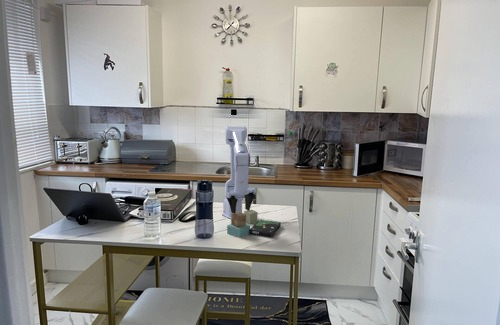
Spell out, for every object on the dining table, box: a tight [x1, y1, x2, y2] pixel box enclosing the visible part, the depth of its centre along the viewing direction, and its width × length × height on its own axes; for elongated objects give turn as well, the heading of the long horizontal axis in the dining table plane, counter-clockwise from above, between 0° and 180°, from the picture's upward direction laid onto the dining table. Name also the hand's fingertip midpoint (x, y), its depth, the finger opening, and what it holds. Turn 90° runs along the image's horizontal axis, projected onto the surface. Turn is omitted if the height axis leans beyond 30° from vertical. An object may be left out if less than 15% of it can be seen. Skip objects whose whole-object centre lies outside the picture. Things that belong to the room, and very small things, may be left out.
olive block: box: [243, 209, 259, 225], centre depth 180 cm, size 4×4×5 cm
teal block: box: [226, 223, 251, 239], centre depth 165 cm, size 7×7×4 cm
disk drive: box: [249, 219, 282, 239], centre depth 169 cm, size 10×3×15 cm
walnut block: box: [230, 211, 247, 227], centre depth 164 cm, size 4×4×5 cm
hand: (240, 211), depth 165 cm, fingers open, 7 cm apart
